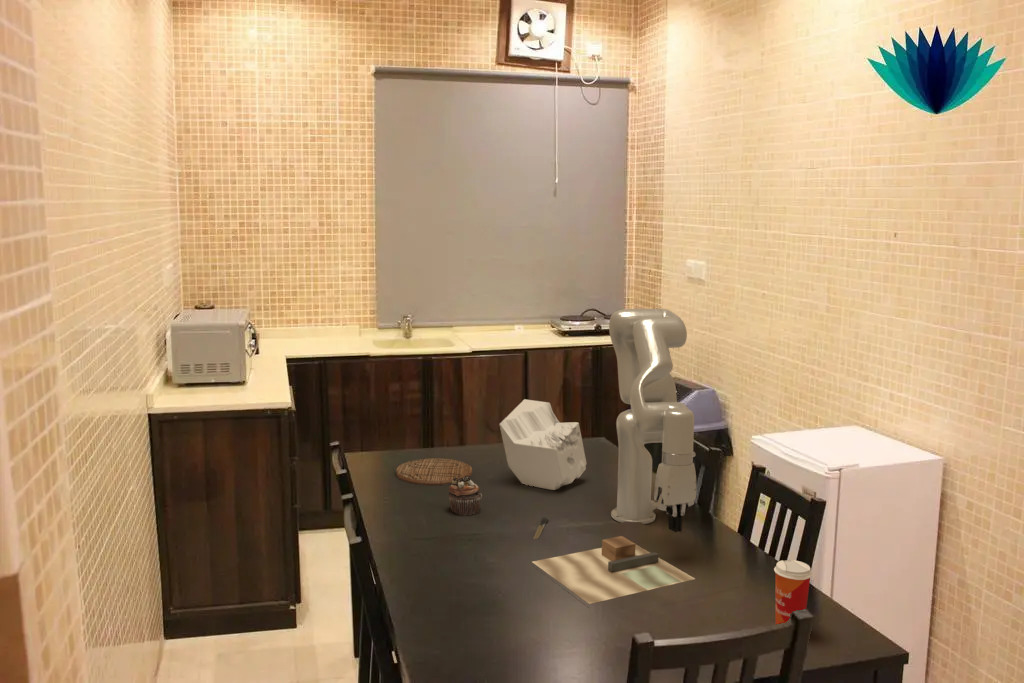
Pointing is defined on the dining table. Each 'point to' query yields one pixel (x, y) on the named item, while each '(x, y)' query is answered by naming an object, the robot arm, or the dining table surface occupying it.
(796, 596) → the paper cup
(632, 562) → the dark gray bar
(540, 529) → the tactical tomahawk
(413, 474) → the trivet
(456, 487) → the cupcake
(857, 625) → the dining table surface
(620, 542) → the walnut block
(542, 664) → the dining table surface
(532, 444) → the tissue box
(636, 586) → the board
